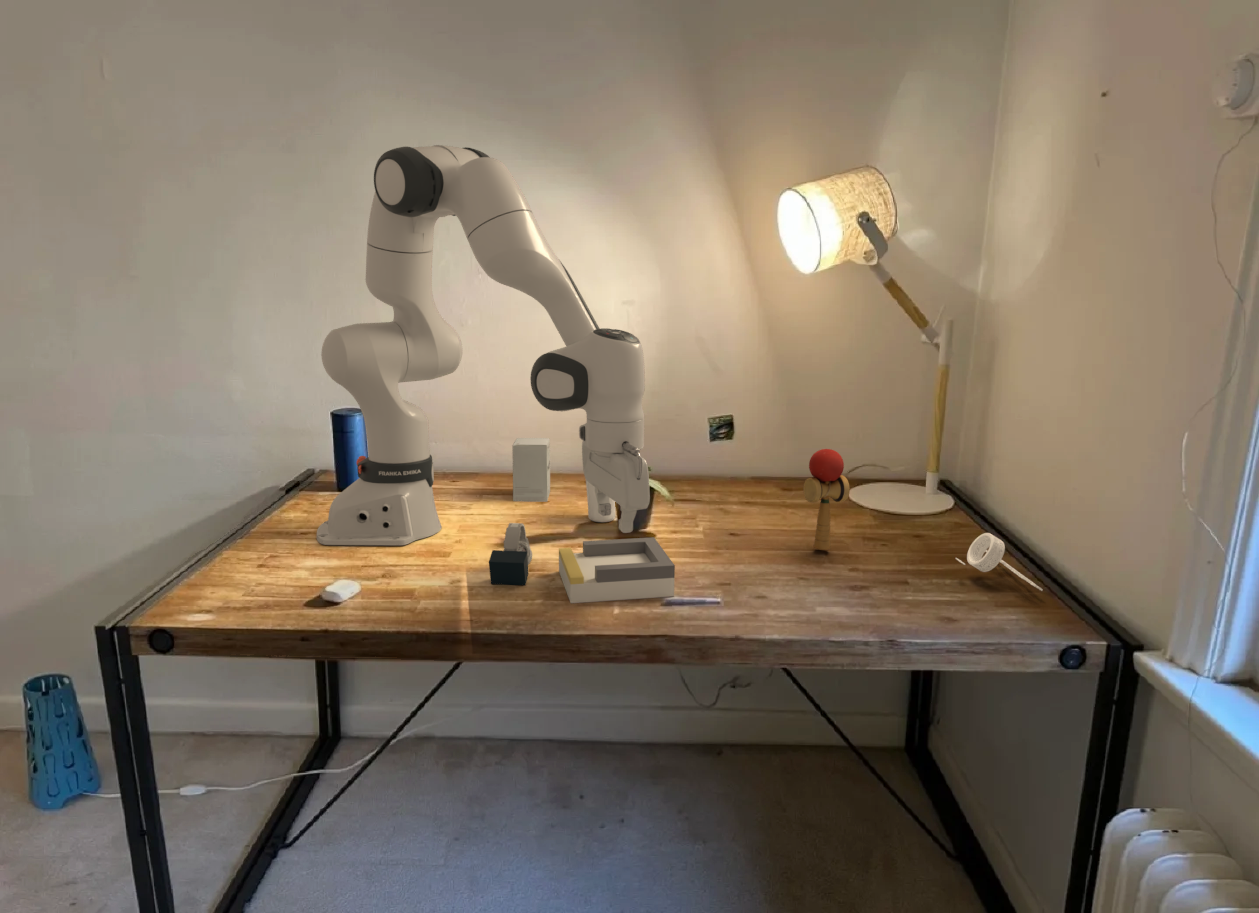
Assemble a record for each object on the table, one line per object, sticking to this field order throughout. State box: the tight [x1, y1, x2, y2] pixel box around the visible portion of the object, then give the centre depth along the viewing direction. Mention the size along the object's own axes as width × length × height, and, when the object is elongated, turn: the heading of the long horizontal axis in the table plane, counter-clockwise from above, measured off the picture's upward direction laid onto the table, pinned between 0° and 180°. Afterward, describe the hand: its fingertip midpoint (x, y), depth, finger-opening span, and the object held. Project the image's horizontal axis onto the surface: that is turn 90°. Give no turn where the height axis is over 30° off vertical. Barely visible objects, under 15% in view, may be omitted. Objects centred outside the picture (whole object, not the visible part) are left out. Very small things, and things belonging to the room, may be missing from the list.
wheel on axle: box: [955, 532, 1043, 592], centre depth 151 cm, size 18×10×7 cm
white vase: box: [585, 480, 616, 523], centre depth 178 cm, size 7×7×15 cm
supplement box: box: [511, 437, 551, 503], centre depth 192 cm, size 7×7×13 cm
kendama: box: [802, 448, 851, 551], centre depth 162 cm, size 8×6×18 cm
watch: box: [488, 522, 533, 586], centre depth 148 cm, size 6×8×11 cm
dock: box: [558, 536, 676, 604], centre depth 145 cm, size 16×14×5 cm
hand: (614, 522), depth 143 cm, fingers open, 8 cm apart
